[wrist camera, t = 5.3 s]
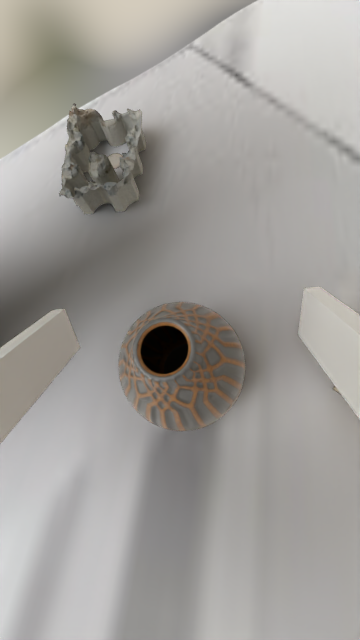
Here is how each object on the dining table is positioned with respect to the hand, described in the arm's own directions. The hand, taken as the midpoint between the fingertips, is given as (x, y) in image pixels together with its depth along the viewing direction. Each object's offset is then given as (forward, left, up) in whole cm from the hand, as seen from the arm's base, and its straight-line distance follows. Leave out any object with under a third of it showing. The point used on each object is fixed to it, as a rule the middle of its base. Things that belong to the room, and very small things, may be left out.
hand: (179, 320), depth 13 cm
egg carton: (-18, +9, -5) cm, 20 cm away
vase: (+1, -2, -5) cm, 5 cm away
